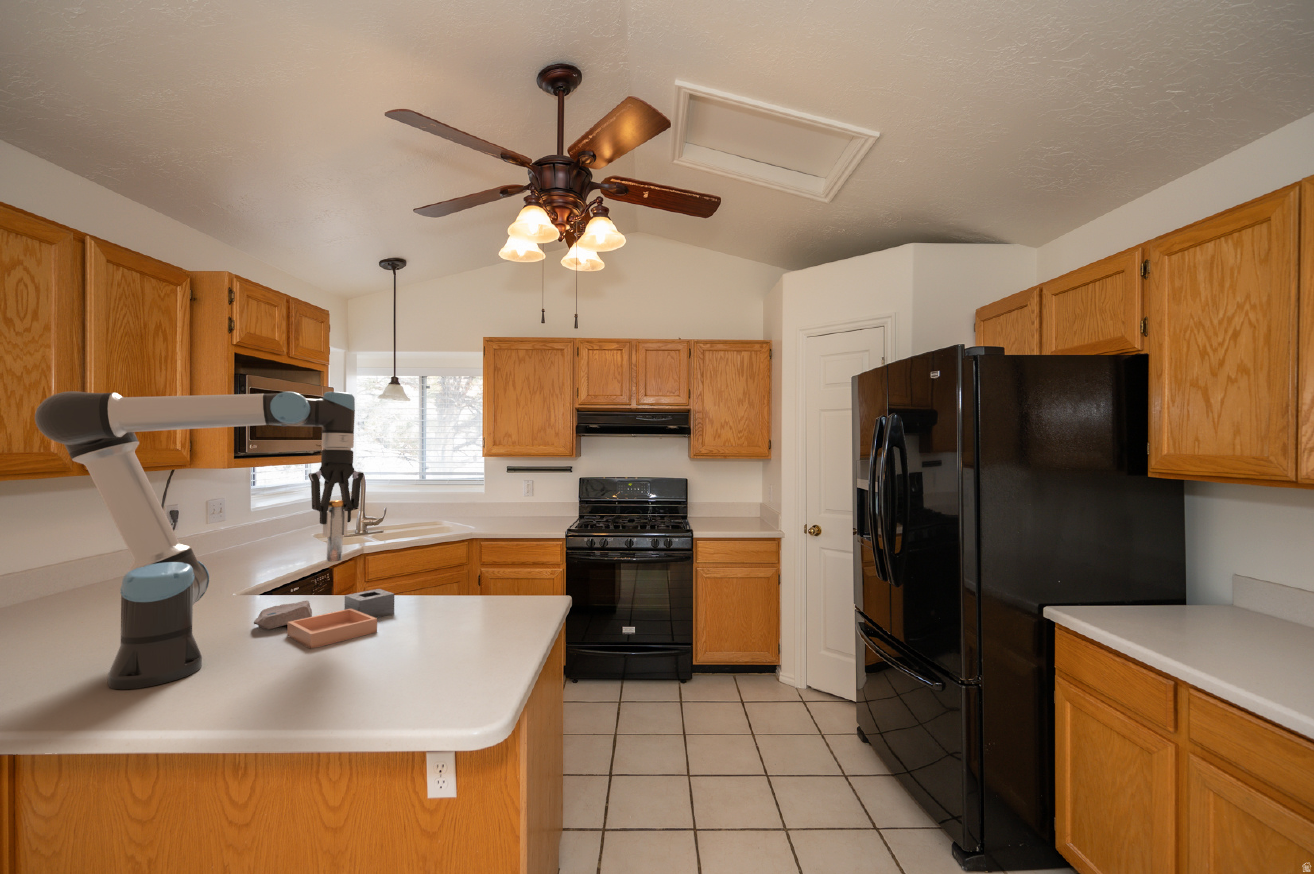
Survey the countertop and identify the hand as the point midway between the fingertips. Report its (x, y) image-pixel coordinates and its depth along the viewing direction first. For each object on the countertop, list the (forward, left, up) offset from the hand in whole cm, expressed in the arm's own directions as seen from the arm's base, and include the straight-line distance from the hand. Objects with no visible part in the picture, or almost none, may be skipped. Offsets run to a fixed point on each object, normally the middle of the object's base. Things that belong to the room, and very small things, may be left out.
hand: (334, 535), depth 148 cm
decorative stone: (-7, +17, -26) cm, 32 cm away
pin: (0, 0, -7) cm, 7 cm away
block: (+13, +9, -26) cm, 30 cm away
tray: (-1, -1, -26) cm, 26 cm away
